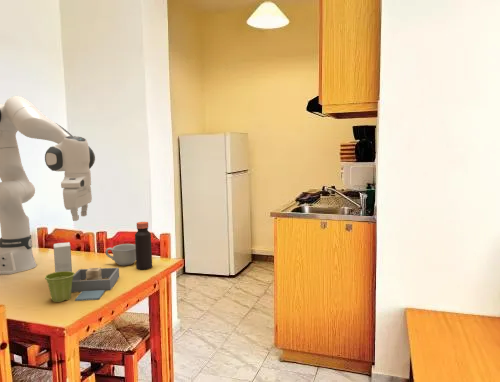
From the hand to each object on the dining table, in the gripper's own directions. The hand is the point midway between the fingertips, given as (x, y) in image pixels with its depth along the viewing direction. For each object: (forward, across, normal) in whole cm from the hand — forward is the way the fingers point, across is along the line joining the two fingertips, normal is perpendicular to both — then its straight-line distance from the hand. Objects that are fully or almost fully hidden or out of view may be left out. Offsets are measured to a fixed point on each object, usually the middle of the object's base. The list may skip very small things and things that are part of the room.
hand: (80, 218), depth 155 cm
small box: (+27, -18, -14) cm, 35 cm away
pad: (+27, +9, +5) cm, 29 cm away
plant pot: (+27, +10, -4) cm, 29 cm away
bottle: (+27, -24, +18) cm, 41 cm away
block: (+27, -4, +3) cm, 27 cm away
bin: (+27, -4, +3) cm, 27 cm away
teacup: (+27, -32, +7) cm, 43 cm away
